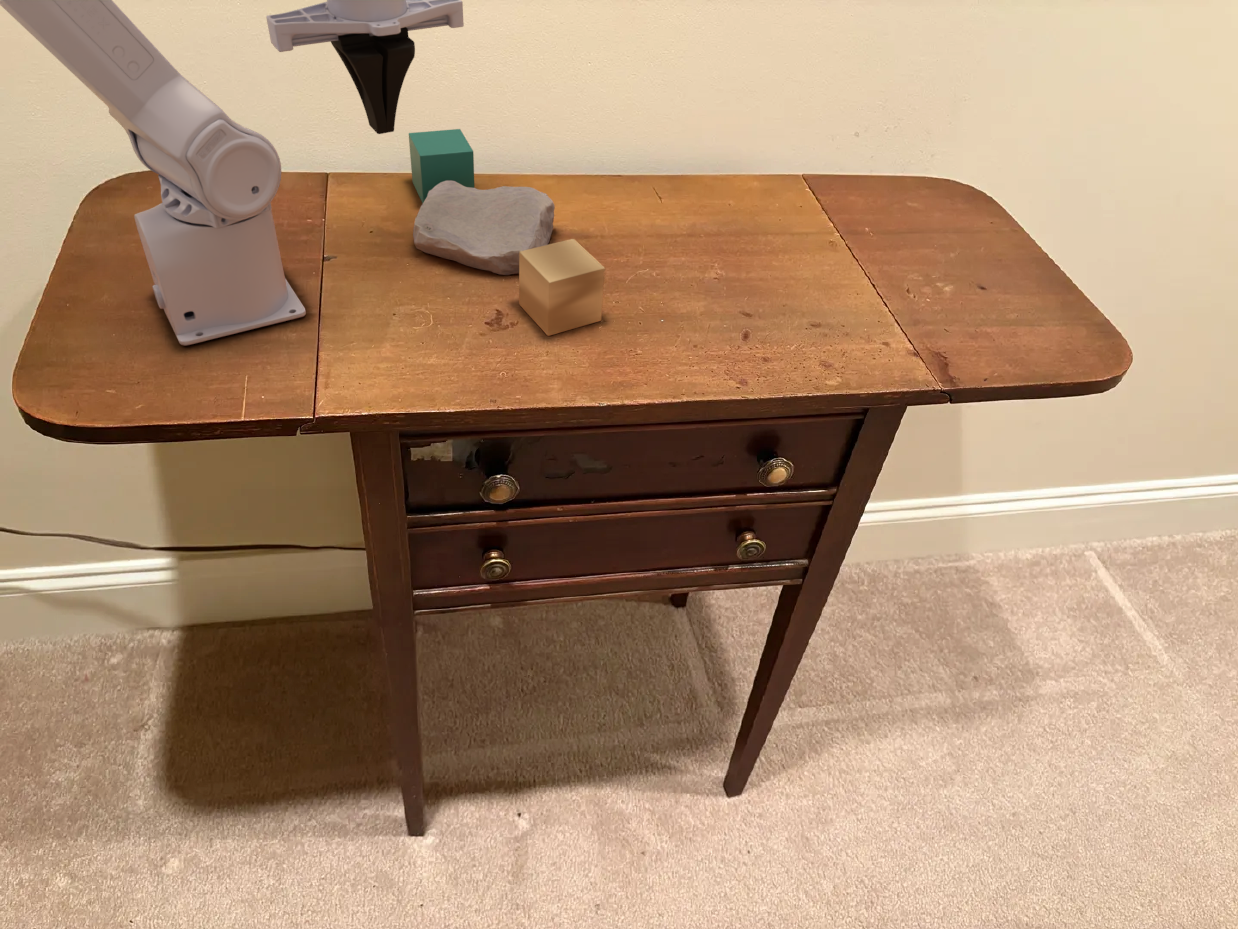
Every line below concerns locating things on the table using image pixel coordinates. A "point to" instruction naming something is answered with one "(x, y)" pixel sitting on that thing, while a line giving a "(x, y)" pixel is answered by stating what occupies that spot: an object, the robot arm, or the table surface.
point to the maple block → (561, 286)
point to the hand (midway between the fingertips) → (381, 128)
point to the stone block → (483, 225)
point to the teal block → (440, 160)
